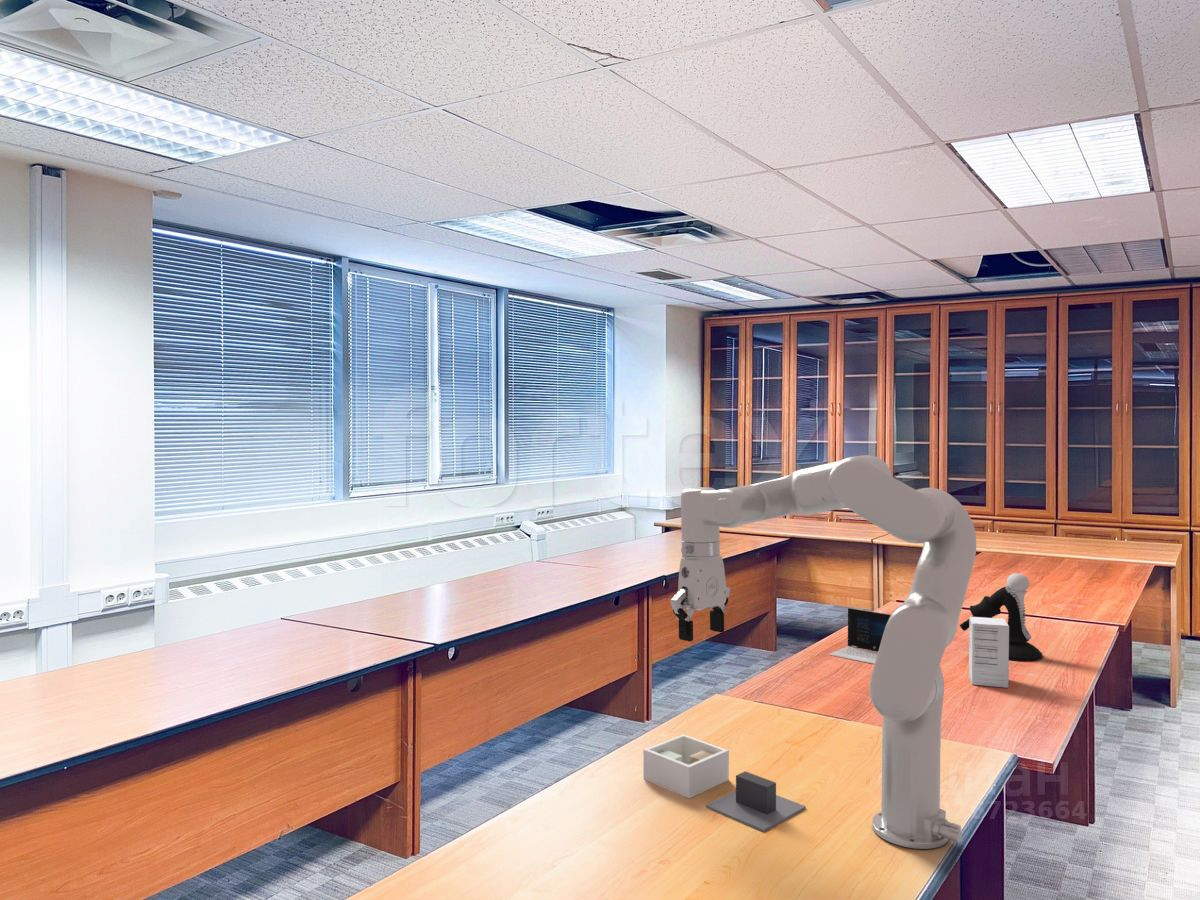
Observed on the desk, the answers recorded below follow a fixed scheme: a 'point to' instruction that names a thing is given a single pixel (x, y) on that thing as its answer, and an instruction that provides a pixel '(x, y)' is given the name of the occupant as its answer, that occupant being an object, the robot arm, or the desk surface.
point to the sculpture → (1010, 616)
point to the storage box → (686, 766)
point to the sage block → (673, 755)
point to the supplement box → (989, 652)
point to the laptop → (863, 635)
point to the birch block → (699, 756)
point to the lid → (756, 803)
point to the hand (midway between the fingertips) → (701, 635)
